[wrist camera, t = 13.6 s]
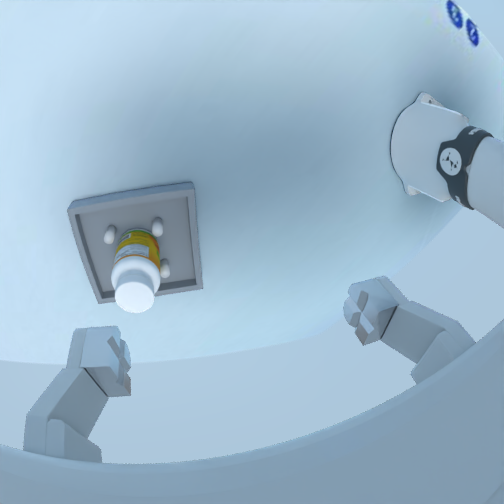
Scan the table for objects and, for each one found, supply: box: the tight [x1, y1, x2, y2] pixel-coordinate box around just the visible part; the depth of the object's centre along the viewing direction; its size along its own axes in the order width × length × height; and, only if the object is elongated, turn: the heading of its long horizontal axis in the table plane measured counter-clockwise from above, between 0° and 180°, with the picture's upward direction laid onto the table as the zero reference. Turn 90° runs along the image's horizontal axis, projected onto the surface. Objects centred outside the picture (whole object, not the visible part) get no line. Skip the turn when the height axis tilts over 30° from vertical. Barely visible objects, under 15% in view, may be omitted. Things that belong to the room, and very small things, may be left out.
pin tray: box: [67, 182, 203, 304], centre depth 31 cm, size 15×14×4 cm
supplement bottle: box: [111, 229, 161, 313], centre depth 28 cm, size 5×5×10 cm
